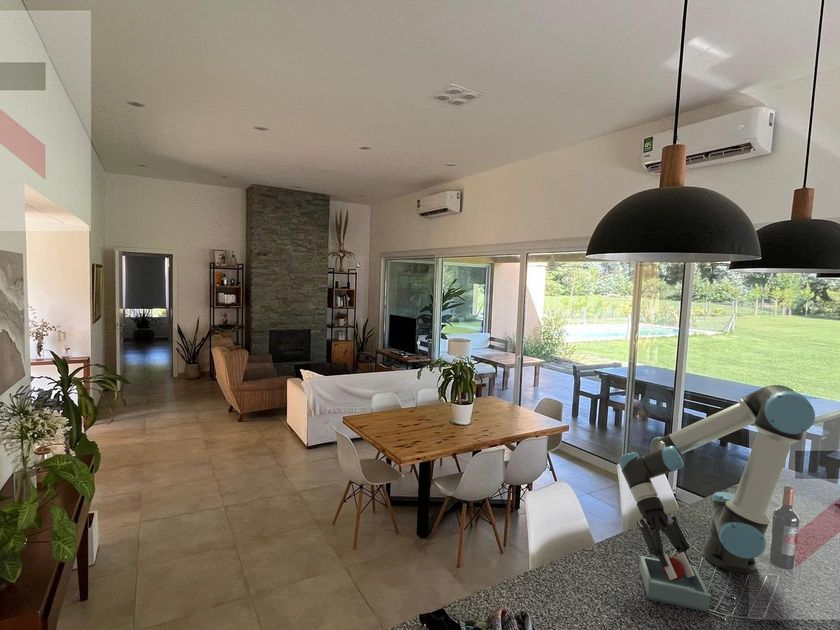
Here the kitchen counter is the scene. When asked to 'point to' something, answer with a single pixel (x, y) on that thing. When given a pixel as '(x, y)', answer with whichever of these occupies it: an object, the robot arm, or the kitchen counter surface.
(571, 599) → the kitchen counter surface
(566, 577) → the kitchen counter surface
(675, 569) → the onion
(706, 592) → the bin
